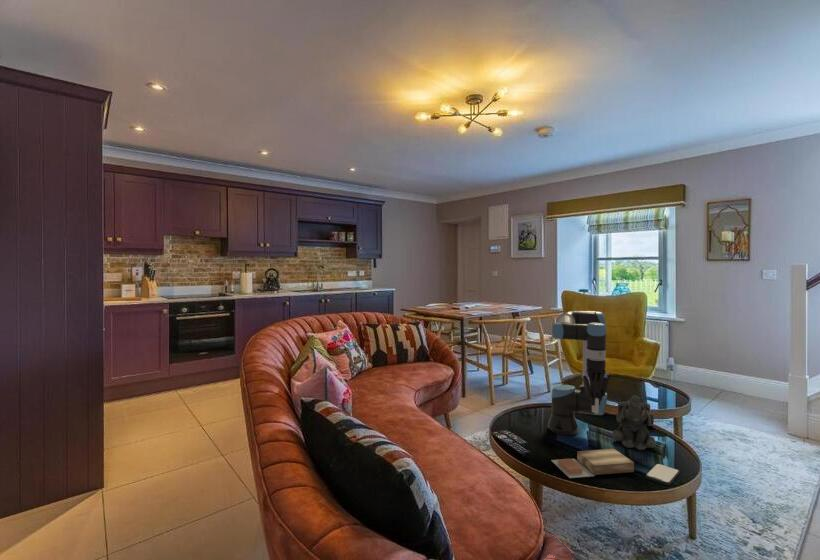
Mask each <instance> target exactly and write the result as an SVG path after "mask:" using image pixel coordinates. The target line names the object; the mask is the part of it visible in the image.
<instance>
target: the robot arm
mask: <svg viewBox="0 0 820 560" xmlns="http://www.w3.org/2000/svg"><path fill="white" fill-rule="evenodd" d="M551 330H552V331H551V335H552V339H556V340H568V341H569V340H573V341H582V374H580V377H581V379H582V384H580V385H579V389H576V387H575V386H574V385H572V384H571V385H570V384H558V385H555V386H553V388H552V389H551V394H550V395H551V397H550V398H551V414H550V417H549V420H548V422H547V429H548V428H549V429H550V430H551V431H552V433H555V434H556V433H557V435H561V436H574V435H577V434H578V433H579V425H578V422H577V420H576V414H575V413H577V414H586V415H594V416H603V415H604V414H605V412H606V409H607V401H608V393H607V388H608V385H609V380H610V378H611V377H612V376H611V374H608V373H607V371H606V363H607V361H606V358H607V357H606V356H607V354H606V351H607V346H606V344H607V323H606V317H605V314H604V313H603V312H602V311H595V310H568V311H565V312H562V313H561V314H559V315H558V316H557V318H556V320H555V322H554V323H552V327H551ZM549 429H548V430H549ZM550 430H549V431H550ZM551 431H550V432H551Z"/></svg>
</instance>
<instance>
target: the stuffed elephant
mask: <svg viewBox="0 0 820 560" xmlns="http://www.w3.org/2000/svg"><path fill="white" fill-rule="evenodd" d="M650 410H651V405H650V404H649V403H646V402H645V403H644V402H641V398H640V397H639V396H638V395H633V396H631V397H630V398H629V400H627V401H619V402H618V403H617V415H616V418H615V420H616V422H617V423H618V424H619V425H618V427H617V429H614V430H612V433H611V434H612V438H613V439H614V440H615V441H616V442H619V443H621V444H622V445H623V446H624V447H625V448H626V449H627V448H628V449H632V448H635V449H636V450H639V451H645V450H646V448H647V449H651V448H654V447H655V445H656V439H655V438H654V437H653V436H650V435H651V434H650V432H649V429H648V427H650V426H651V418H650V415H651V414H650ZM647 425H648V426H647Z"/></svg>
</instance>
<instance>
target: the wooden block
mask: <svg viewBox="0 0 820 560" xmlns="http://www.w3.org/2000/svg"><path fill="white" fill-rule="evenodd" d="M576 452H577V454H576V455H577V456H576V460H577V461H578V462H579V463H580V464H581V465H583V466H584V467H585V468H586V469H587V470H588V471H590V472H591V473H592V474H593V475H594V476H596V475H598V476H599V475H611V474H623V473H633V472H635V462H634V461H633V460H631V459H630V458H628V457H627V456H625V455H624V454H622V453H621V452H620V451H618V450H616V449H615V448H605V449H593V450H592V449H591V450H590V449H589V450H577V451H576Z"/></svg>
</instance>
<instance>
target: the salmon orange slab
mask: <svg viewBox="0 0 820 560" xmlns="http://www.w3.org/2000/svg"><path fill="white" fill-rule="evenodd" d="M572 459H573V458H561V459H559V458H558V459H557V460H558V464H559V465H560V466H561V467H562V468H563V469H564V470H565V471H566V472H567V473H568V474H579V473H583V468H581V467H580V466H579V465H578V464H577V463H575V462H574V461H573V460H572Z"/></svg>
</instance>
